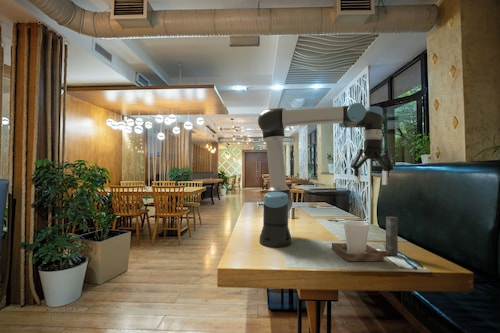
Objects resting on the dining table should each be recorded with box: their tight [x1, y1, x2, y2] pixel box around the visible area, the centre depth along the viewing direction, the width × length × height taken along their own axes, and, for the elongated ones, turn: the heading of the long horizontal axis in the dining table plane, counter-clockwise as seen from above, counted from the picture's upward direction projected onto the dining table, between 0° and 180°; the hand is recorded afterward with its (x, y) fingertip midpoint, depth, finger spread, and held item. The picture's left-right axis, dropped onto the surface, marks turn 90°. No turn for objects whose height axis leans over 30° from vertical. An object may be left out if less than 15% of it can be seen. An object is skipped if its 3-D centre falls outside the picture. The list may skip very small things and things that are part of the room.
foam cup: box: [343, 220, 370, 253], centre depth 99 cm, size 10×9×13 cm
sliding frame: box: [331, 216, 399, 262], centre depth 99 cm, size 24×14×15 cm, turn 94°
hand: (371, 184), depth 116 cm, fingers open, 13 cm apart
